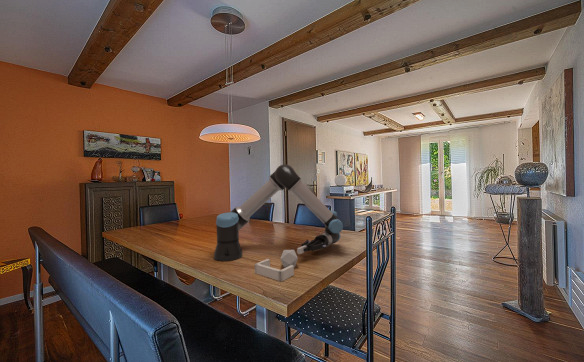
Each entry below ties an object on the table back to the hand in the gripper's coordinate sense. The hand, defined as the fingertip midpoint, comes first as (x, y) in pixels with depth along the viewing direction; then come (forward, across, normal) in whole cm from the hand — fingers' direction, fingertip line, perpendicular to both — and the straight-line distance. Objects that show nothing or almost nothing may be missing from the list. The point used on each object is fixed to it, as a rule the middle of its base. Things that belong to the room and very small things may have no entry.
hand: (298, 251), depth 122 cm
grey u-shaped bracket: (+17, +1, -6) cm, 18 cm away
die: (+7, +1, -6) cm, 9 cm away
